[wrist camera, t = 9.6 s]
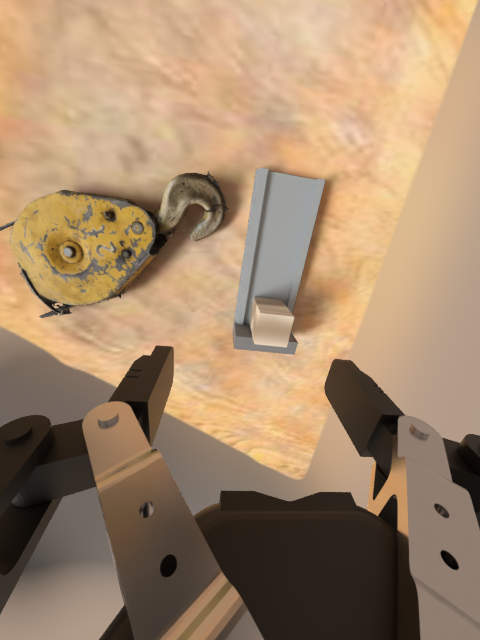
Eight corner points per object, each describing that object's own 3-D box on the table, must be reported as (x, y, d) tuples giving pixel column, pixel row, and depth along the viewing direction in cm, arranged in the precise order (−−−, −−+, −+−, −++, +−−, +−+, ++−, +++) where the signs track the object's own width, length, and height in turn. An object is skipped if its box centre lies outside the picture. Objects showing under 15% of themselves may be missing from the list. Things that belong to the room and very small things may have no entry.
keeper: (253, 296, 34) (260, 312, 27) (281, 300, 34) (294, 316, 28) (248, 323, 36) (254, 344, 29) (275, 325, 36) (286, 347, 30)
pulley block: (244, 255, 27) (24, 330, 29) (243, 257, 32) (59, 319, 35) (203, 123, 24) (-42, 218, 26) (210, 150, 29) (8, 226, 31)
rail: (255, 170, 29) (263, 156, 23) (321, 183, 30) (344, 172, 24) (232, 330, 38) (233, 348, 32) (284, 335, 39) (294, 354, 33)
